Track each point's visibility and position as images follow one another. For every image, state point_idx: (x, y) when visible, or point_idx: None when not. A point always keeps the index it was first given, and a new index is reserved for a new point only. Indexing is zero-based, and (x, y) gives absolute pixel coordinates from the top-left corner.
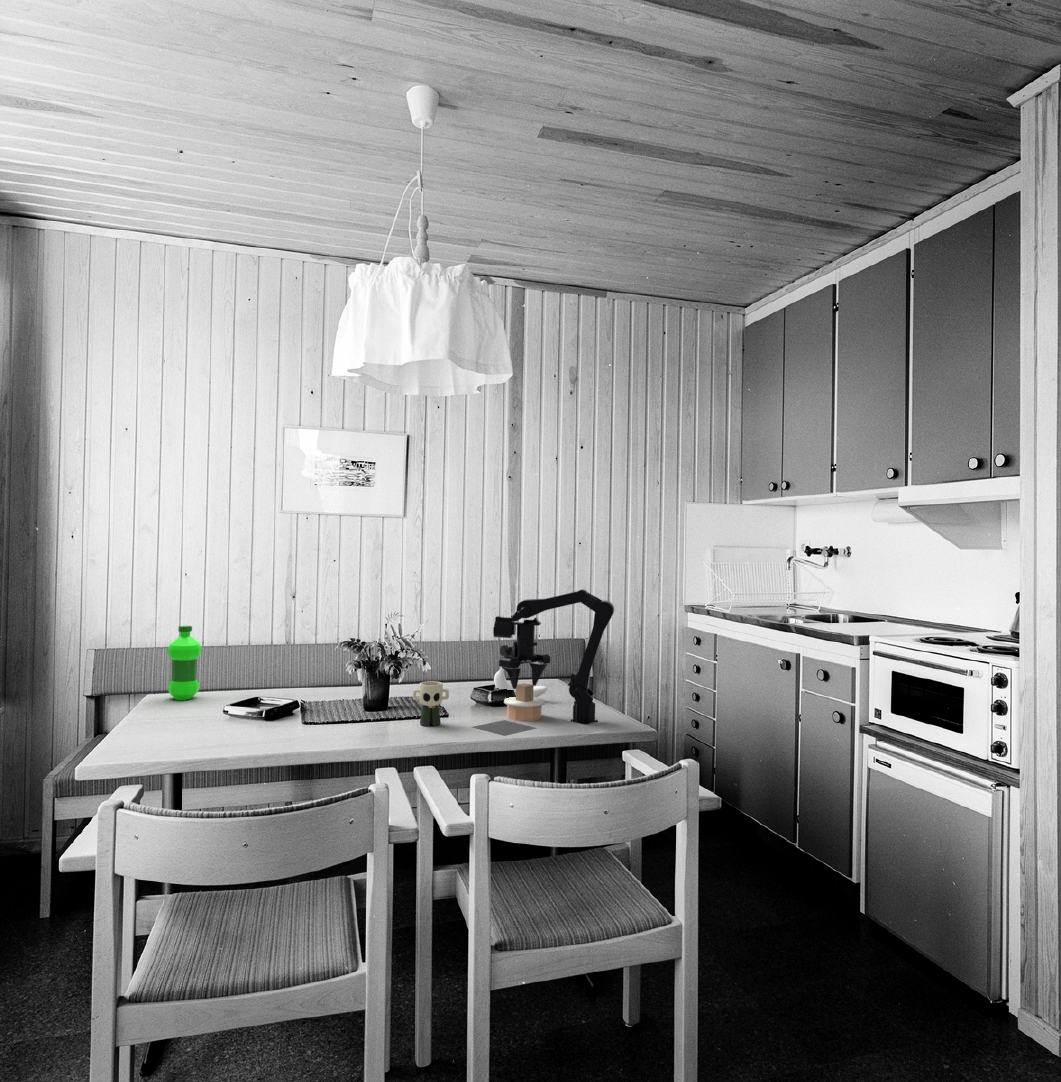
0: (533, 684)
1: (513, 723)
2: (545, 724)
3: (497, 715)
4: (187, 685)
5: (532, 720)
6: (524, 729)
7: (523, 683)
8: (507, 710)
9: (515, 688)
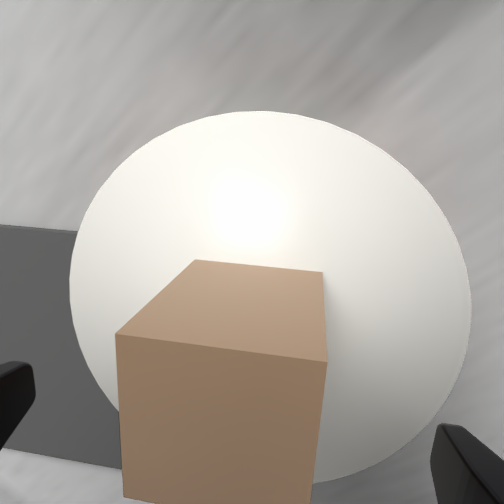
0: (437, 452)
1: None
2: None
3: (207, 63)
4: None
5: None
6: (53, 441)
7: (291, 362)
8: None
9: (18, 406)
